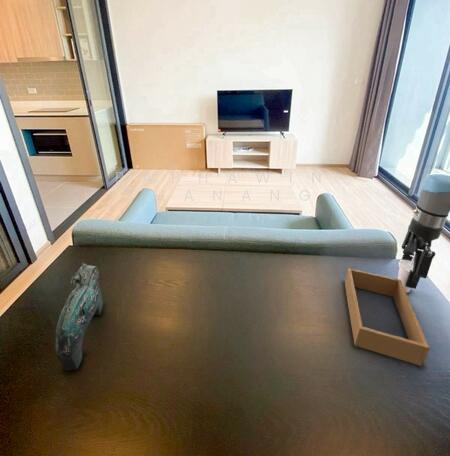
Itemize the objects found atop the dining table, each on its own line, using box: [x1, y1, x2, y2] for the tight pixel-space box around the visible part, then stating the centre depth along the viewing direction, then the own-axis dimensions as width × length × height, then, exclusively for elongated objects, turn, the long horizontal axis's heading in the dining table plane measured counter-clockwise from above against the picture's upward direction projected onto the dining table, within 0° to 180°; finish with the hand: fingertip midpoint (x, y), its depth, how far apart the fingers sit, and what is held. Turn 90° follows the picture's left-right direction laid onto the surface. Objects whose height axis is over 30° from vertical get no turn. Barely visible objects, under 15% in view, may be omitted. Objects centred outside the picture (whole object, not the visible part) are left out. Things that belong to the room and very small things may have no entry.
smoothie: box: [397, 256, 415, 294], centre depth 82 cm, size 6×6×14 cm
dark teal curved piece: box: [54, 262, 104, 371], centre depth 67 cm, size 20×6×20 cm, turn 5°
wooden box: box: [344, 267, 430, 367], centre depth 73 cm, size 16×22×7 cm
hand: (406, 278), depth 83 cm, fingers closed on smoothie, 6 cm apart
